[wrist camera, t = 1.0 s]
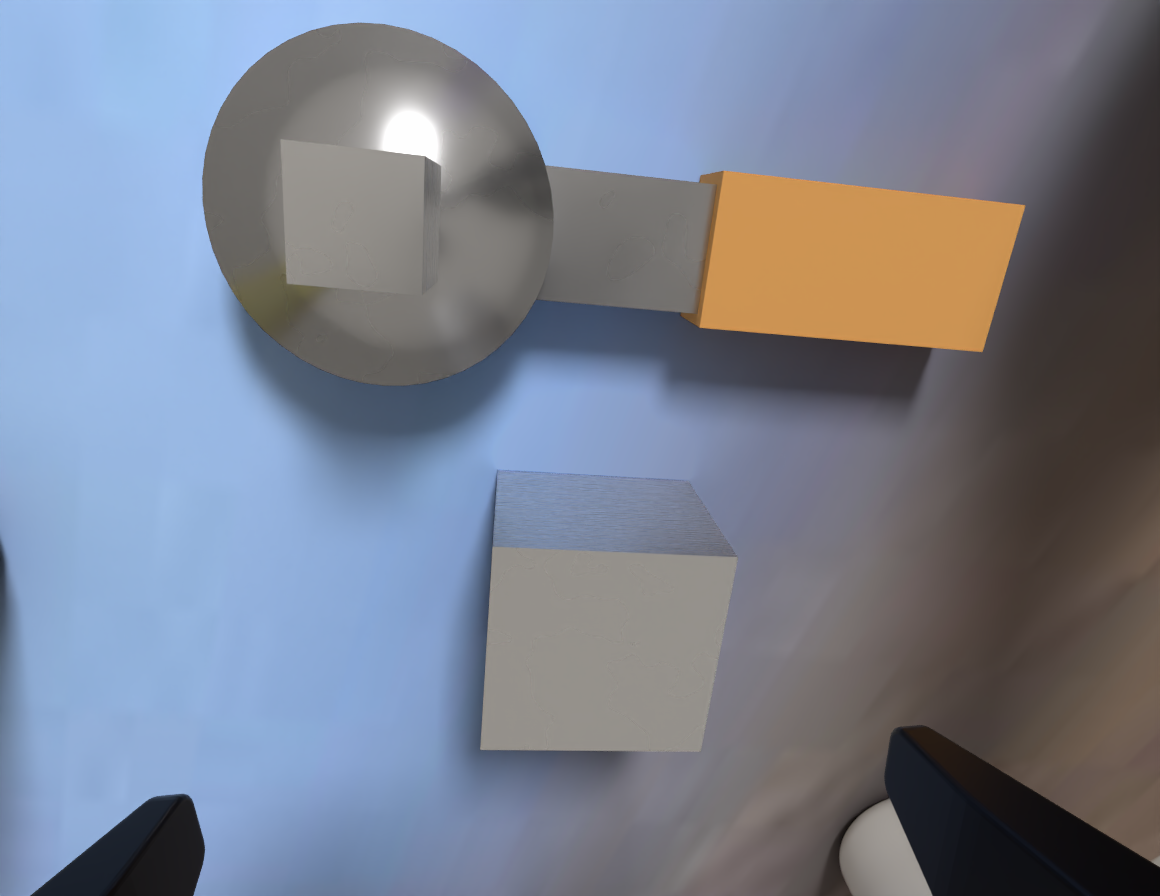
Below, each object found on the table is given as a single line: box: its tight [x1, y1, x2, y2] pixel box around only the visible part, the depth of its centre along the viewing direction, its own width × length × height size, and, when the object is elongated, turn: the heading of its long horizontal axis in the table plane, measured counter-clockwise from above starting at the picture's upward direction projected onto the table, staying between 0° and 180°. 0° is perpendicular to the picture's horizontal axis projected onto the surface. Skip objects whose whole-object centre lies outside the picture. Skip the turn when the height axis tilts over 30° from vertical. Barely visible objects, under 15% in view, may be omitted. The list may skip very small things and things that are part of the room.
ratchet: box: [202, 23, 1025, 386], centre depth 16 cm, size 20×8×5 cm, turn 85°
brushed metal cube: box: [480, 470, 738, 752], centre depth 19 cm, size 6×6×5 cm
